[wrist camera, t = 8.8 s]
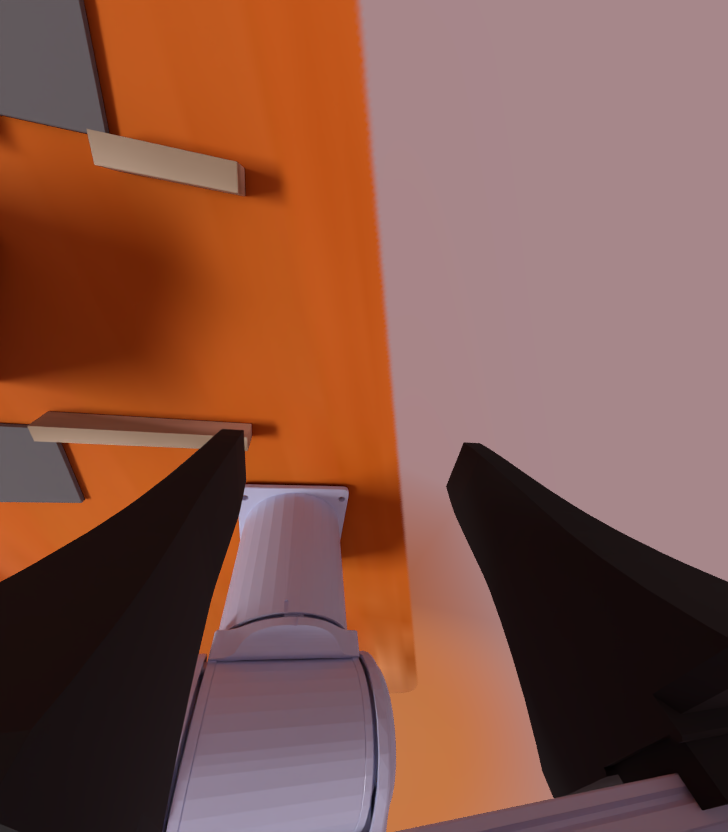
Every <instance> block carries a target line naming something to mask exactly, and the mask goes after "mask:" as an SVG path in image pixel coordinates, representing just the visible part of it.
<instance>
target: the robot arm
mask: <svg viewBox="0 0 728 832" xmlns="http://www.w3.org/2000/svg"><path fill="white" fill-rule="evenodd" d="M446 487H447V491H448V494H449V498H450V501H451V504H452V507H453V510H454V513H455V515H456V518H457V520H458V522H459V524H460V526H461V528H462V531H463V533H464V535H465V537H466V539H467V541H468V544H469V546H470V548H471V550H472V552H473V554H474V556H475V558H476V561H477V563H478V565H479V567H480V569H481V571H482V573H483V575H484V578H485V580H486V582H487V585H488V587H489V590H490V592H491V595H492V598H493V601H494V604H495V606H496V609H497V612H498V615H499V617H500V620H501V623H502V626H503V629H504V632H505V636H506V639H507V642H508V645H509V648H510V651H511V654H512V657H513V660H514V664H515V667H516V671H517V674H518V678H519V681H520V684H521V688H522V691H523V695H524V698H525V702H526V706H527V710H528V714H529V718H530V722H531V725H532V730H533V733H534V737H535V741H536V745H537V749H538V754H539V758H540V763H541V767H542V771H543V774H544V776H545V778H546V781H547V783H548V786H549V788H550V790H551V793H552V795H553V797H554V799H549V800H545V801H540V802H535V803H531V804H525V805H521V806H516V807H511V808H507V809H502V810H497V811H492V812H487V813H483V814H478V815H473V816H468V817H463V818H458V819H454V820H449V821H444V822H439V823H435V824H430V825H425V826H420V827H415V828H411V829H406V830H401V831H396V832H728V582H727V581H725V580H722V579H720V578H717V577H715V576H713V575H710V574H708V573H706V572H703V571H701V570H699V569H697V568H694V567H692V566H690V565H687V564H685V563H683V562H681V561H678V560H676V559H674V558H672V557H669V556H668V555H665V554H663V553H661V552H659V551H657V550H655V549H653V548H651V547H649V546H647V545H645V544H643V543H641V542H639V541H637V540H635V539H633V538H631V537H629V536H627V535H625V534H623V533H621V532H619V531H617V530H615V529H614V528H612V527H610V526H608V525H606V524H605V523H603V522H601V521H599V520H597V519H596V518H594V517H592V516H590V515H589V514H587V513H585V512H584V511H582V510H580V509H578V508H577V507H575V506H573V505H572V504H570V503H569V502H567V501H566V500H564V499H563V498H561V497H559V496H558V495H556V494H555V493H553V492H552V491H550V490H549V489H547V488H546V487H544V486H543V485H541V484H540V483H538V482H537V481H535V480H534V479H532V478H531V477H529V476H528V475H527V474H525V473H524V472H522V471H521V470H520V469H518V468H516V467H515V466H514V465H512V464H511V463H509V462H508V461H507V460H505V459H504V458H502V457H501V456H499V455H498V454H496V453H495V452H493V451H492V450H490V449H489V448H487V447H485V446H483V445H482V444H480V443H463V446H462V448H461V451H460V454H459V456H458V458H457V461H456V463H455V466H454V468H453V471H452V473H451V476H450V478H449V481H448V483H447V486H446ZM243 495H246V496H243ZM348 496H349V491H348V488H346V487H343V486H303V485H260V484H246V468H245V445H244V430H234V429H221V430H220V431H219V432H218V433H216V434H215V435H214V436H213V437H212V438H211V439H210V440H209V441H208V442H206V443H205V444H204V445H203V446H202V447H201V448H200V449H199V450H198V451H196V452H195V453H194V454H193V455H192V456H191V457H190V458H189V459H187V460H186V461H185V462H184V463H183V464H181V465H180V466H179V467H178V468H177V469H175V470H174V471H173V472H172V473H171V474H170V475H168V476H167V477H166V478H165V479H163V480H162V481H161V482H159V483H158V484H157V485H155V486H154V487H153V488H152V489H150V490H149V491H148V492H146V493H145V494H144V495H142V496H141V497H140V498H138V499H137V500H136V501H134V502H133V503H131V504H130V505H129V506H127V507H126V508H124V509H123V510H121V511H120V512H119V513H117V514H115V515H114V516H112V517H111V518H109V519H108V520H106V521H105V522H103V523H102V524H100V525H99V526H97V527H96V528H94V529H92V530H91V531H89V532H88V533H86V534H84V535H83V536H81V537H79V538H77V539H76V540H74V541H72V542H71V543H69V544H67V545H65V546H64V547H62V548H60V549H58V550H57V551H55V552H53V553H52V554H50V555H48V556H46V557H45V558H43V559H41V560H40V561H38V562H36V563H34V564H33V565H31V566H29V567H27V568H26V569H24V570H22V571H20V572H18V573H16V574H14V575H13V576H11V577H9V578H7V579H5V580H3V581H1V582H0V832H386V826H387V817H388V811H389V805H390V802H391V798H392V794H393V789H394V782H395V770H396V741H395V728H394V719H393V711H392V707H391V700H390V696H389V692H388V688H387V685H386V682H385V679H384V676H383V674H382V672H381V670H380V669H379V667H378V666H377V664H376V662H375V660H374V659H373V657H372V656H371V655H370V654H369V653H368V652H365V651H359V647H358V637H357V631H355V630H347V624H346V612H345V599H344V586H343V573H342V560H341V547H340V539H341V533H342V528H343V523H344V517H345V512H346V507H347V502H348ZM340 497H343V498H340ZM238 516H239V528H240V544H239V548H238V553H237V557H236V561H235V565H234V569H233V574H232V578H231V582H230V586H229V590H228V594H227V599H226V603H225V607H224V611H223V615H222V619H221V624H220V628H219V630H217V631H216V632H215V634H214V638H213V642H212V646H211V650H210V654H209V658H208V662H206V661H207V654H199V650H200V645H201V641H202V636H203V632H204V628H205V624H206V619H207V615H208V611H209V607H210V602H211V599H212V596H213V592H214V589H215V585H216V582H217V579H218V576H219V573H220V570H221V567H222V564H223V561H224V558H225V555H226V552H227V549H228V546H229V543H230V540H231V537H232V534H233V531H234V528H235V525H236V522H237V519H238Z"/></svg>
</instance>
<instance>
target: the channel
mask: <svg viewBox="0 0 728 832" xmlns="http://www.w3.org/2000/svg"><path fill="white" fill-rule="evenodd" d="M87 134H88V138H89V143H90V147H91V152H92V156H93V161H94V165H98V166H101V167H105V168H109V169H112V170H116V171H120V172H125V173H130V174H135V175H140V176H145V177H150V178H155V179H160V180H165V181H170V182H175V183H180V184H185V185H190V186H195V187H200V188H205V189H210V190H215V191H220V192H225V193H230V194H235V195H240V196H245V168H244V167H243V166H241V165H240V164H239V163H238V162H236V161H231V160H227V159H222V158H218V157H213V156H208V155H204V154H199V153H195V152H190V151H186V150H181V149H177V148H172V147H168V146H163V145H158V144H154V143H149V142H145V141H140V140H136V139H131V138H127V137H122V136H117V135H113V134H108V133H104V132H99V131H95V130H90V129H87ZM27 427H28V429H29V431H30V433H31V435H32V438H33V440H34V441H39V442H62V443H84V444H107V445H130V446H153V447H176V448H198V449H200V448H201V447H202V446H203V445H204V444H205V443H206V442H208V441H209V440H210V439H211V438H212V437H213V436H214V435H215V434H216V433H218V432H219V431H220V430H221V429H234V430H244V445H245V451H248V448H249V445H250V441H251V438H252V424H247V423H231V422H214V421H198V420H181V419H165V418H148V417H132V416H115V415H99V414H82V413H66V412H49V411H48V412H47V413H45V414H44V415H42V416H41V417H39V418H38V419H36V420H35V421H33V422H32V423H31V424H29V425H28V426H27Z"/></svg>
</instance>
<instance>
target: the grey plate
mask: <svg viewBox="0 0 728 832" xmlns="http://www.w3.org/2000/svg"><path fill="white" fill-rule="evenodd" d="M0 115H2V116H7V117H12V118H16V119H21V120H25V121H30V122H35V123H39V124H44V125H48V126H53V127H58V128H62V129H67V130H71V131H76V132H81V133H85V134H87V129H90V130H95V131H99V132H104V133H108V134H109V129H108V124H107V119H106V113H105V108H104V103H103V98H102V93H101V88H100V83H99V78H98V72H97V67H96V62H95V57H94V52H93V47H92V42H91V37H90V31H89V26H88V21H87V16H86V11H85V6H84V1H83V0H0ZM27 426H28V425H24V424H5V423H0V502H57V503H82V502H83V501H84V500H85V499H84V497H83V494H82V492H81V489H80V487H79V485H78V482H77V480H76V477H75V475H74V473H73V470H72V468H71V465H70V463H69V461H68V458H67V456H66V453H65V451H64V449H63V446H62V444H61V442H39V441H34V440H33V438H32V435H31V433H30V431H29V429H28V427H27Z"/></svg>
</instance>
